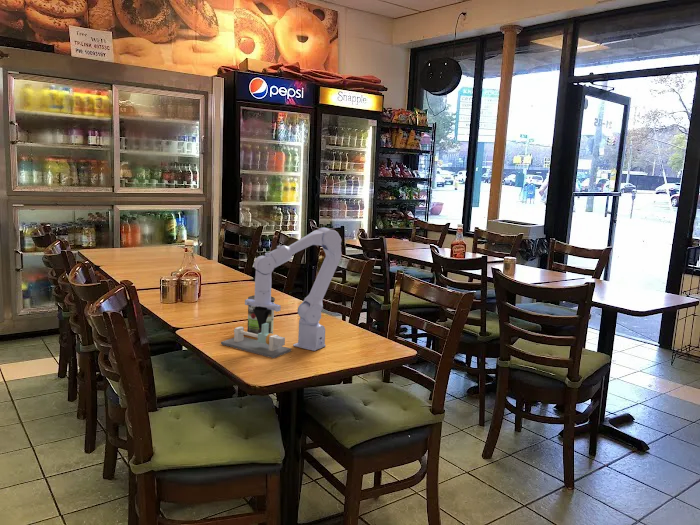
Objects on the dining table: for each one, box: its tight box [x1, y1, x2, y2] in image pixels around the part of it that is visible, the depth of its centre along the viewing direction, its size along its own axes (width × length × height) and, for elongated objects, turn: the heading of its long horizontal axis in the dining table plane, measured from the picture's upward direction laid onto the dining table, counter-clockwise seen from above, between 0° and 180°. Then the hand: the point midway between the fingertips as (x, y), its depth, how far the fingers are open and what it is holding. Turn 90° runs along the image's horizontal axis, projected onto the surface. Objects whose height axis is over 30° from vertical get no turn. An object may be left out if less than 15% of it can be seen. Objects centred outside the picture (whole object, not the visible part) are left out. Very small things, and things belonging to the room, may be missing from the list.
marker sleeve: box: [257, 323, 269, 344], centre depth 197 cm, size 4×3×7 cm
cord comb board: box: [220, 325, 292, 359], centre depth 199 cm, size 24×10×6 cm, turn 60°
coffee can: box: [246, 294, 276, 334], centre depth 218 cm, size 10×10×14 cm
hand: (261, 327), depth 198 cm, fingers closed
